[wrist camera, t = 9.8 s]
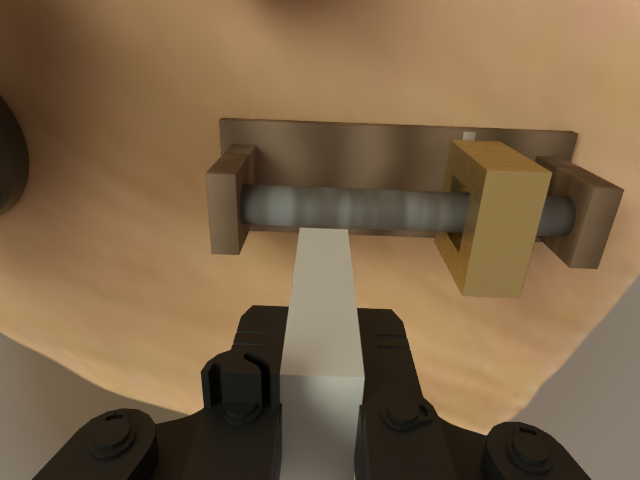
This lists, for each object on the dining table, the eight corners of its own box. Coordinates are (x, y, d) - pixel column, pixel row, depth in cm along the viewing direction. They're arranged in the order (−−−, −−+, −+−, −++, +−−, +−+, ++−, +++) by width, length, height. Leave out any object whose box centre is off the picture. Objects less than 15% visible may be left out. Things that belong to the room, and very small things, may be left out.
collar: (434, 241, 39) (462, 295, 31) (450, 139, 35) (487, 170, 27) (479, 243, 39) (519, 298, 31) (500, 141, 35) (552, 172, 27)
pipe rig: (228, 225, 42) (200, 277, 33) (221, 117, 38) (187, 143, 29) (543, 237, 42) (602, 293, 33) (572, 131, 38) (649, 160, 29)
